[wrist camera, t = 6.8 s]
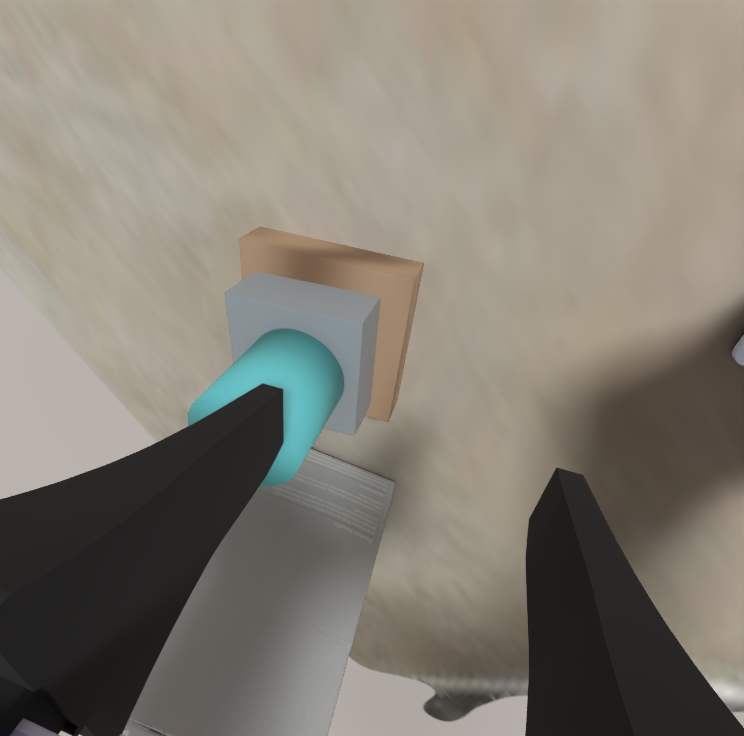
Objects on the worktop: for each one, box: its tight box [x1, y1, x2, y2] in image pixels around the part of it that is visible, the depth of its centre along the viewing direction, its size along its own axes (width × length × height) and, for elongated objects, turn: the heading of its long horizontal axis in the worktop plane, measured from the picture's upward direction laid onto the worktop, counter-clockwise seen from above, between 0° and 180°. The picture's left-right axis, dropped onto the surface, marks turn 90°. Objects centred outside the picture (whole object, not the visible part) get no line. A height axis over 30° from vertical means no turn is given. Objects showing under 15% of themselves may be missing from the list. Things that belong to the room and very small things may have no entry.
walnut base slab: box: [239, 227, 424, 422], centre depth 22 cm, size 8×8×2 cm
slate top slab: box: [225, 271, 381, 436], centre depth 20 cm, size 6×6×2 cm
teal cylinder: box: [188, 328, 345, 486], centre depth 17 cm, size 4×4×4 cm
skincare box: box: [120, 449, 396, 736], centre depth 23 cm, size 8×7×16 cm
